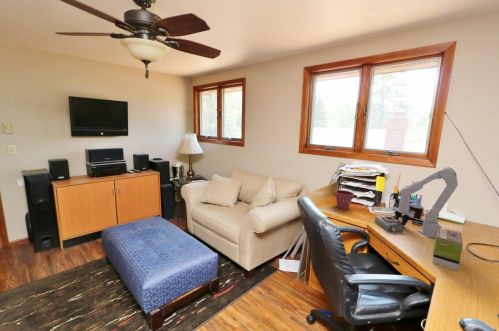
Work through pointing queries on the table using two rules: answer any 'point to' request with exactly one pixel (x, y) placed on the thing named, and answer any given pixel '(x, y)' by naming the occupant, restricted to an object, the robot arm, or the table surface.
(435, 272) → the table surface
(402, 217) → the spout can
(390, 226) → the gearbox
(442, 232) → the tea box
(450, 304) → the table surface
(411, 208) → the coffee mug
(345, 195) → the plant pot
